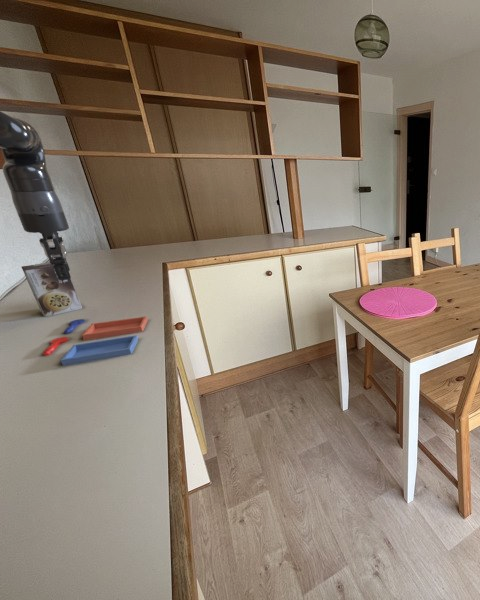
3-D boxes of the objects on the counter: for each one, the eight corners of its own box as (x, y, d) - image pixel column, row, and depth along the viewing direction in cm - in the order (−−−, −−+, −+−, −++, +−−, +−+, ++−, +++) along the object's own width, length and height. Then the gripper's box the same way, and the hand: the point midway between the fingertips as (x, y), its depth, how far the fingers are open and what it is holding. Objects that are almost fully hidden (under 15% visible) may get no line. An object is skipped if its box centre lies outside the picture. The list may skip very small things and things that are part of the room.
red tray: (84, 341, 87) (81, 335, 87) (93, 329, 94) (91, 323, 93) (142, 332, 93) (141, 326, 92) (148, 321, 100) (146, 316, 99)
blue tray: (63, 367, 76) (60, 360, 75) (76, 351, 83) (73, 344, 82) (132, 355, 82) (129, 348, 81) (138, 341, 88) (136, 335, 88)
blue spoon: (75, 334, 91) (73, 329, 91) (59, 336, 90) (57, 332, 89) (87, 321, 99) (85, 317, 99) (72, 322, 98) (71, 318, 97)
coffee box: (78, 304, 110) (61, 260, 104) (83, 309, 107) (66, 263, 101) (40, 312, 103) (20, 265, 97) (44, 318, 100) (24, 269, 94)
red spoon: (56, 355, 80) (54, 350, 80) (37, 358, 79) (35, 353, 78) (71, 338, 88) (69, 334, 88) (54, 341, 87) (52, 336, 86)
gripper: (19, 208, 77) (44, 271, 83) (14, 214, 68) (42, 285, 74) (62, 207, 82) (83, 267, 88) (63, 212, 73) (86, 279, 79)
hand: (64, 275), depth 81 cm, fingers open, 8 cm apart
